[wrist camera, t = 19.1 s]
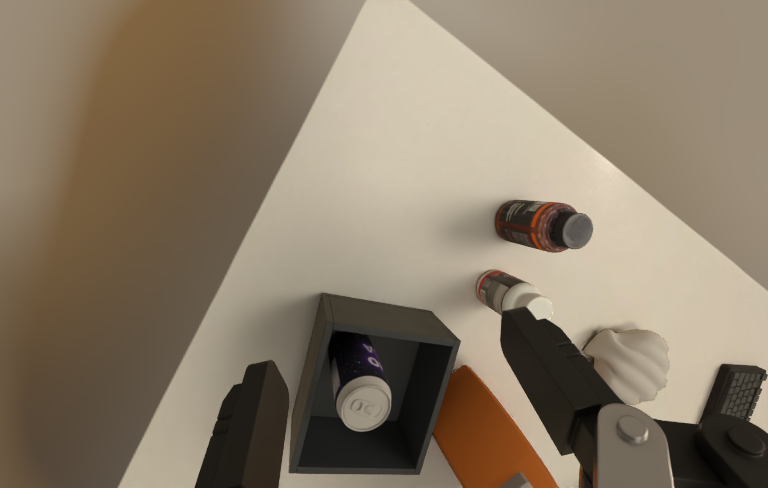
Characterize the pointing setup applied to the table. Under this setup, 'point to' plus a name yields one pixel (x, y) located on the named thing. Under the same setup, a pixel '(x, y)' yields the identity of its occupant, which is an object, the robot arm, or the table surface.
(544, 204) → the supplement bottle
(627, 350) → the shell shaped sculpture
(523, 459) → the alarm clock
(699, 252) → the table surface
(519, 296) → the pill bottle
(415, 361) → the open storage box
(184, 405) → the table surface
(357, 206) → the table surface
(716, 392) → the keyboard
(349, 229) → the table surface
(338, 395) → the beverage can
